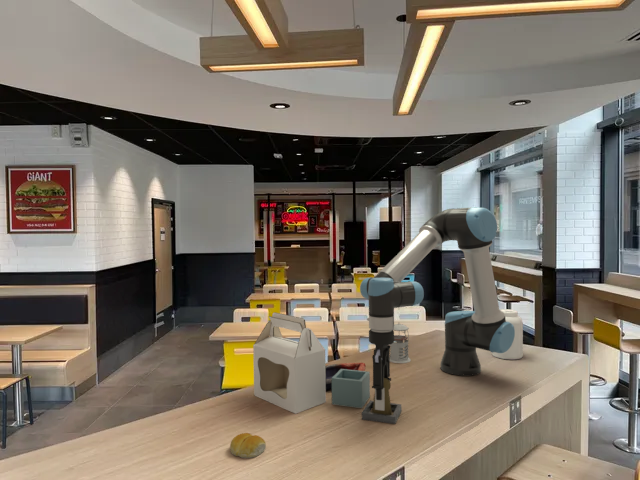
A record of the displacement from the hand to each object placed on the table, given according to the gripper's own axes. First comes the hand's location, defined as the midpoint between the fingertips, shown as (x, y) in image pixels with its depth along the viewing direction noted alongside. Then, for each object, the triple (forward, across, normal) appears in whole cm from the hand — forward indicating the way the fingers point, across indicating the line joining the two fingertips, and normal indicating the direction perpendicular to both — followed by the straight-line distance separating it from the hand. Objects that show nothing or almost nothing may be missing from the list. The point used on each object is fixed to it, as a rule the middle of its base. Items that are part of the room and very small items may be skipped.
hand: (381, 405), depth 137 cm
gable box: (+3, -3, -32) cm, 32 cm away
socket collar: (+3, 0, 0) cm, 3 cm away
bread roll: (+3, +32, -28) cm, 43 cm away
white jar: (+3, -78, +38) cm, 87 cm away
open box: (+3, -8, -12) cm, 15 cm away
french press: (+3, -59, -5) cm, 59 cm away
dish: (+3, -23, -23) cm, 33 cm away
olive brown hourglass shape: (+3, 0, 0) cm, 3 cm away
